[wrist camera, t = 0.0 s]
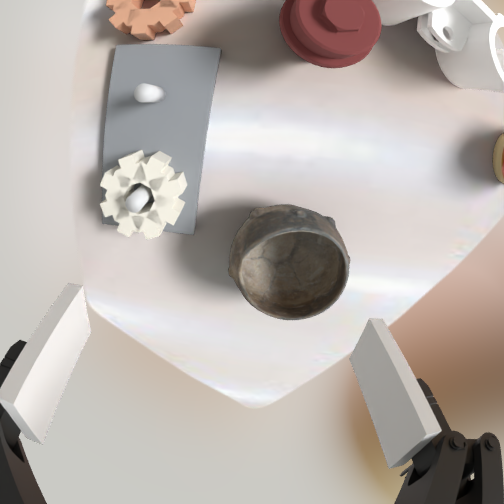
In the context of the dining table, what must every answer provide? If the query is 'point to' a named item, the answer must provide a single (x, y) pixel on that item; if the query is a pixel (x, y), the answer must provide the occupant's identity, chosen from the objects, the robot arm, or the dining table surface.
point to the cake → (499, 159)
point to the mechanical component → (330, 30)
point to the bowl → (289, 262)
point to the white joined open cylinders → (455, 38)
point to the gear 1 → (148, 16)
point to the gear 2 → (153, 176)
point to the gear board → (161, 116)
